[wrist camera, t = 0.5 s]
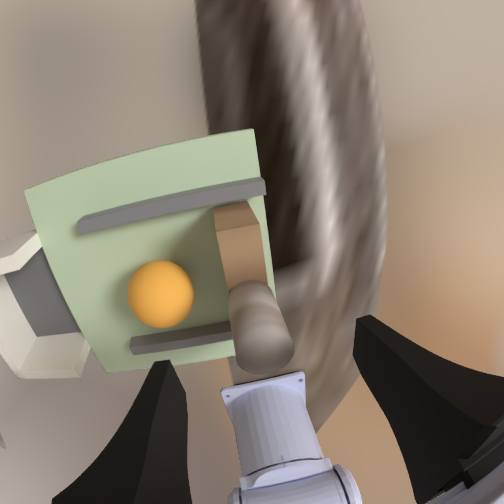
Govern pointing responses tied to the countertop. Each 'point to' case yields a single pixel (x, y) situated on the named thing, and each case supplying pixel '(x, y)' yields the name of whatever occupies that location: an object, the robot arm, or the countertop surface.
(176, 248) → the pitch
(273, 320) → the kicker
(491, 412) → the robot arm
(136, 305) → the ball
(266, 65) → the countertop surface
